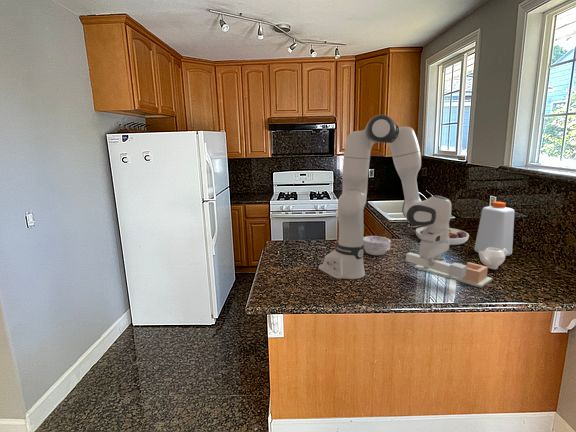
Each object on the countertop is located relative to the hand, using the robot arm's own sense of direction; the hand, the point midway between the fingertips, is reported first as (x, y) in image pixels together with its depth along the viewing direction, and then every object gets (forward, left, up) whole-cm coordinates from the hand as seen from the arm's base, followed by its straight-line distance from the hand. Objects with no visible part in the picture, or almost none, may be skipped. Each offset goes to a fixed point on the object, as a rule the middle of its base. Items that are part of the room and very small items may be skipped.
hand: (433, 264), depth 149 cm
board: (+3, +13, -7) cm, 15 cm away
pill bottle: (-12, +29, -7) cm, 33 cm away
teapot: (+12, +36, -7) cm, 39 cm away
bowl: (-27, +65, -8) cm, 71 cm away
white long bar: (0, 0, -2) cm, 2 cm away
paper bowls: (-38, +12, -7) cm, 41 cm away
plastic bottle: (+4, +60, -7) cm, 61 cm away
